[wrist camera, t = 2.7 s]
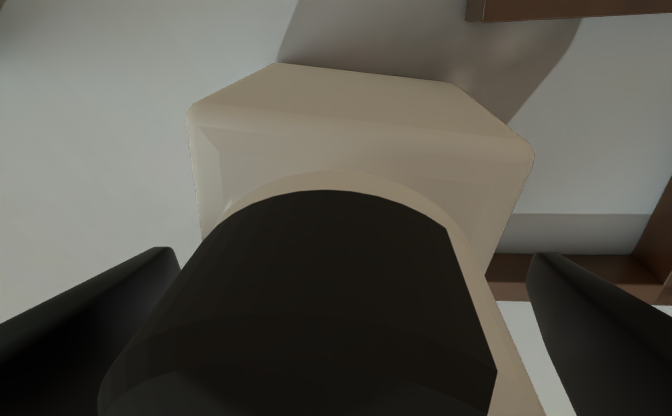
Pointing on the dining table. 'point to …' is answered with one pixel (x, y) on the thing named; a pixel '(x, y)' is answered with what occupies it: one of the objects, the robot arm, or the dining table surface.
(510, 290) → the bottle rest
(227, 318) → the medicine bottle
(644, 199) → the dining table surface
